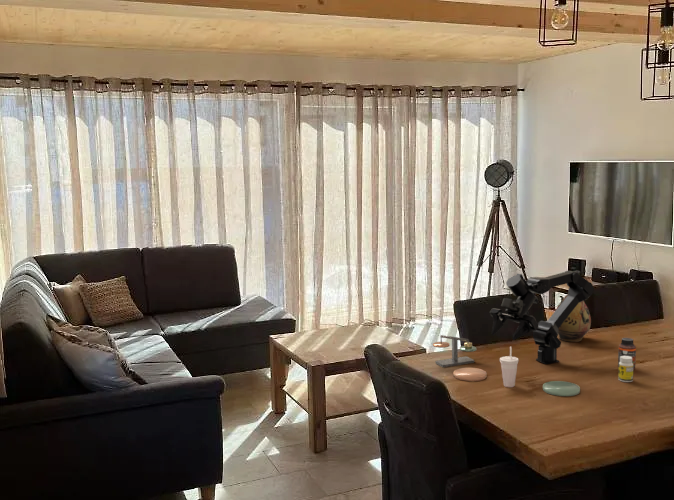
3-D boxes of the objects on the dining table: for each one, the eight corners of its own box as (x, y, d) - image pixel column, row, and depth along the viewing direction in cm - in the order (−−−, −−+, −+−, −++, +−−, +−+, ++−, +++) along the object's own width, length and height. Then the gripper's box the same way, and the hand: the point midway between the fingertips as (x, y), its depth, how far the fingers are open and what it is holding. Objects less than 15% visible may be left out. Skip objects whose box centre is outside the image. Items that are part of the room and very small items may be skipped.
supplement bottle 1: (627, 372, 242) (628, 342, 240) (614, 367, 247) (614, 338, 245) (638, 369, 244) (639, 339, 243) (625, 365, 250) (626, 336, 248)
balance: (470, 357, 265) (470, 328, 264) (479, 362, 259) (479, 332, 258) (430, 363, 259) (429, 334, 258) (438, 368, 253) (437, 337, 252)
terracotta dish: (475, 369, 251) (475, 366, 251) (493, 378, 240) (493, 375, 240) (447, 373, 247) (447, 370, 247) (464, 382, 236) (464, 379, 236)
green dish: (563, 382, 233) (563, 379, 233) (587, 392, 222) (587, 389, 221) (535, 387, 229) (535, 384, 229) (558, 398, 218) (558, 394, 217)
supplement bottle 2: (615, 378, 235) (616, 355, 234) (628, 377, 235) (629, 354, 234) (622, 382, 230) (623, 359, 229) (635, 382, 231) (636, 358, 230)
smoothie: (519, 388, 228) (519, 349, 226) (500, 388, 229) (499, 349, 227) (517, 382, 234) (517, 344, 232) (499, 382, 235) (499, 344, 234)
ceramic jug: (586, 345, 277) (587, 275, 273) (549, 341, 285) (549, 273, 281) (594, 336, 291) (595, 269, 287) (558, 332, 299) (559, 267, 295)
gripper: (493, 287, 251) (473, 318, 245) (535, 294, 236) (515, 327, 230) (505, 305, 256) (485, 336, 251) (547, 314, 242) (527, 347, 236)
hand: (502, 336), depth 242 cm, fingers open, 9 cm apart
